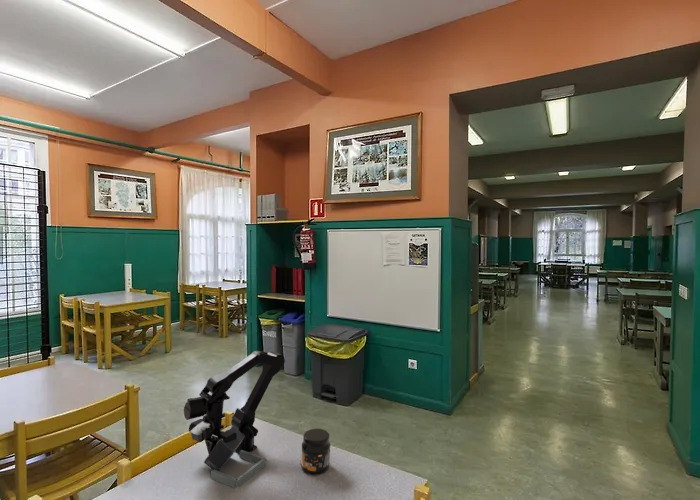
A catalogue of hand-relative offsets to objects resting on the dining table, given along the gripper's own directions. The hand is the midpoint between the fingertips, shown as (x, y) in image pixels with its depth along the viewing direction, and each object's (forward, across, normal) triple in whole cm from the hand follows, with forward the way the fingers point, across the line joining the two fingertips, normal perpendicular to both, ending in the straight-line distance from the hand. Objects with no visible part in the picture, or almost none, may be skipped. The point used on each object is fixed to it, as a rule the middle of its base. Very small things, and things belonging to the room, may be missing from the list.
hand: (210, 455), depth 132 cm
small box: (+1, +3, 0) cm, 4 cm away
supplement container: (+1, +35, +16) cm, 39 cm away
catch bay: (+2, +13, +1) cm, 13 cm away
